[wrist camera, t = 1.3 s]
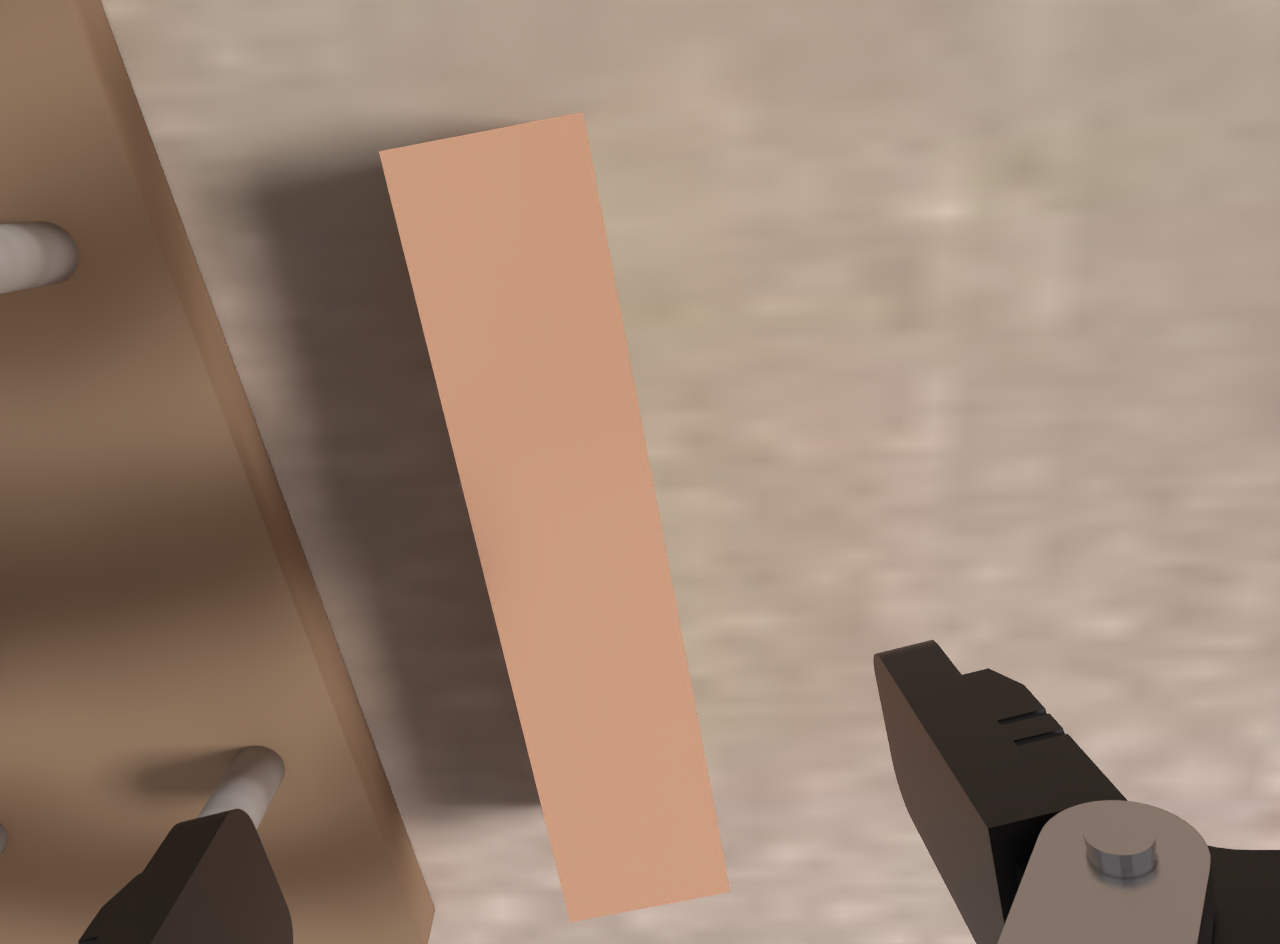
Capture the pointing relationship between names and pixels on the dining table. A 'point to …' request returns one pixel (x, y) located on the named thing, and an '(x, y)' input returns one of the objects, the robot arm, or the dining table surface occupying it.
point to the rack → (151, 546)
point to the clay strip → (562, 503)
